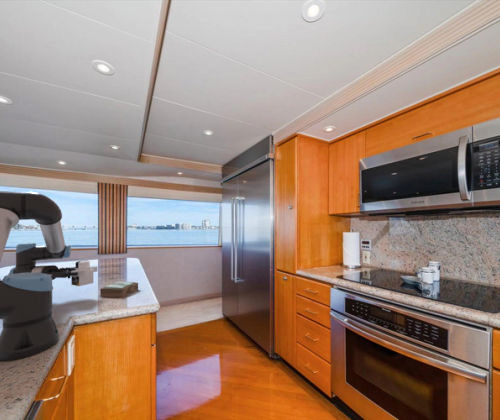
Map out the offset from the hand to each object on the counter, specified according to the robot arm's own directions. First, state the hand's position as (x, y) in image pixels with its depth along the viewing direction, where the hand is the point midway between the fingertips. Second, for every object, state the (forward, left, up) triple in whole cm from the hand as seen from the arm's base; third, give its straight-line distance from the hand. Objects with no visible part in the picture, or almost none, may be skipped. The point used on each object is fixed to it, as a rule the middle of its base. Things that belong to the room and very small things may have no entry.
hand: (91, 270), depth 123 cm
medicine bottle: (-1, +4, -7) cm, 8 cm away
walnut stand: (+10, -9, -14) cm, 19 cm away
